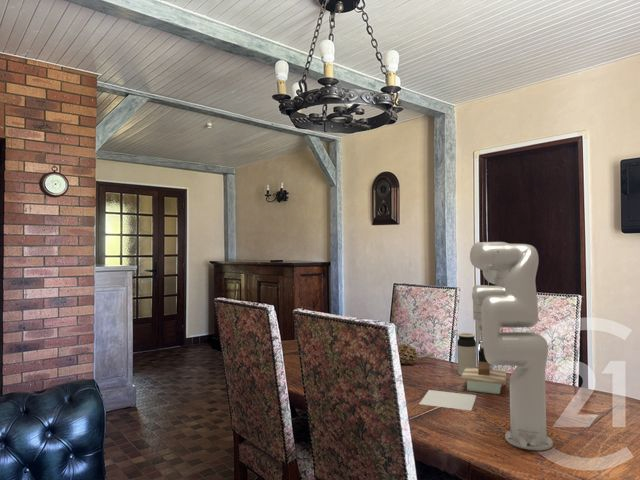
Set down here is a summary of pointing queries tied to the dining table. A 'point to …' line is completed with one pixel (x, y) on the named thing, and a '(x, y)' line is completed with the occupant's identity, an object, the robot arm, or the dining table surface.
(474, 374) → the lid
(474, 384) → the dish
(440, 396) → the mat
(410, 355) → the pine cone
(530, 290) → the robot arm
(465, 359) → the travel mug
